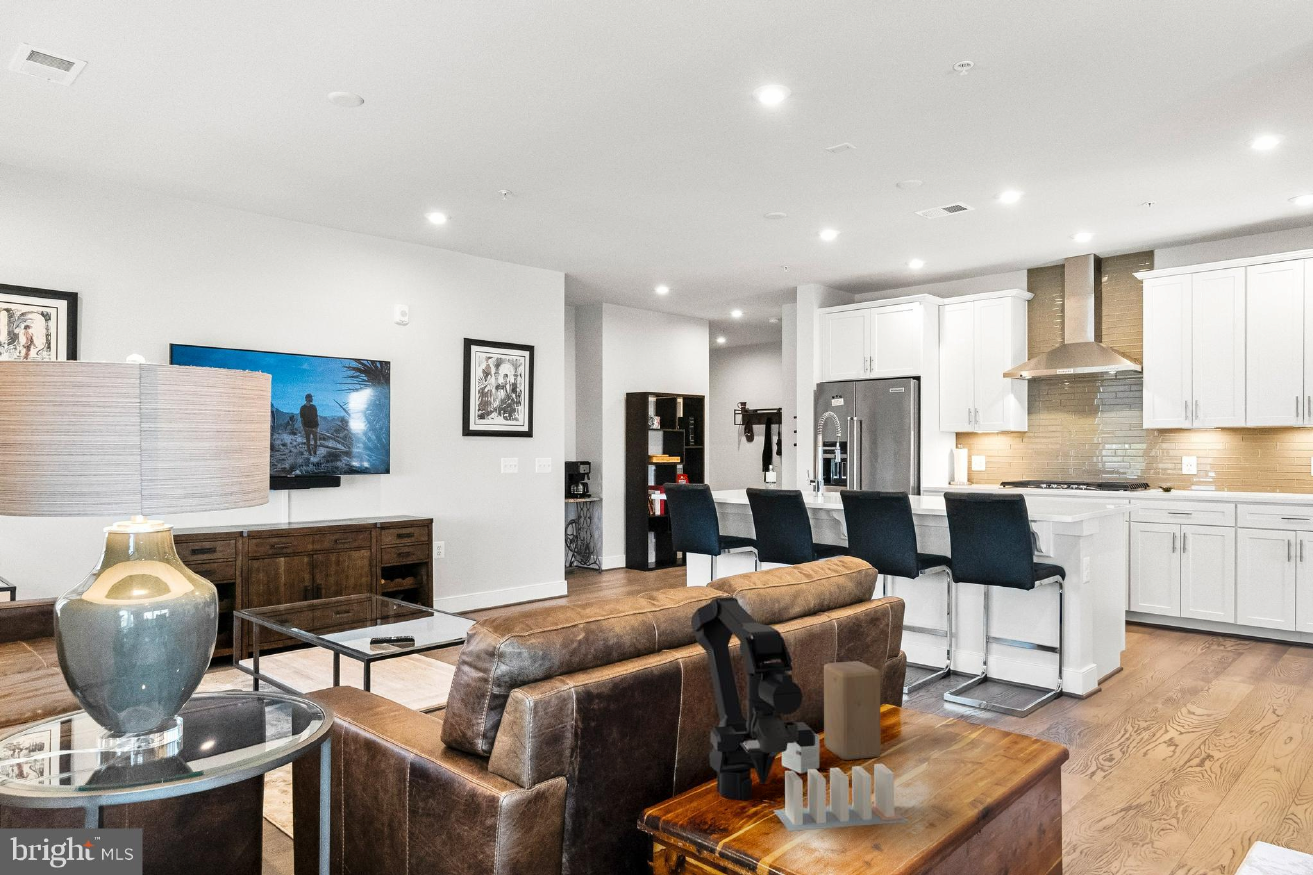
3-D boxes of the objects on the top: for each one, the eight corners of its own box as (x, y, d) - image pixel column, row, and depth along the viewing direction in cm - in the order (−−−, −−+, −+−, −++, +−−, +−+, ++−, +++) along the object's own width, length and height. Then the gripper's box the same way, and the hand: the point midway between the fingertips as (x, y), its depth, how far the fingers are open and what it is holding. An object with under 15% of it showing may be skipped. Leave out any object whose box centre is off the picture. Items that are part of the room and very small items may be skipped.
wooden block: (843, 762, 184) (842, 672, 185) (822, 747, 194) (822, 662, 195) (882, 757, 187) (881, 669, 188) (860, 743, 197) (859, 659, 197)
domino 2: (817, 823, 151) (817, 779, 151) (807, 812, 156) (807, 769, 156) (825, 822, 151) (825, 779, 151) (815, 811, 156) (815, 769, 156)
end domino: (886, 816, 153) (885, 773, 153) (874, 805, 158) (874, 764, 158) (894, 816, 153) (893, 773, 154) (882, 805, 158) (881, 763, 158)
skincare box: (781, 765, 182) (781, 732, 182) (800, 759, 186) (799, 727, 186) (801, 774, 177) (801, 739, 178) (820, 767, 181) (820, 734, 181)
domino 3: (840, 821, 151) (840, 777, 152) (830, 810, 156) (830, 768, 157) (848, 820, 152) (848, 777, 152) (838, 809, 157) (837, 767, 157)
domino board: (789, 836, 148) (789, 829, 148) (773, 815, 156) (773, 809, 156) (907, 826, 152) (907, 820, 152) (885, 806, 160) (885, 800, 161)
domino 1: (794, 825, 150) (794, 781, 150) (785, 813, 155) (785, 771, 155) (802, 824, 150) (802, 780, 150) (793, 813, 155) (793, 770, 155)
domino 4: (863, 819, 152) (863, 776, 152) (852, 808, 157) (852, 766, 157) (871, 819, 153) (871, 775, 153) (860, 808, 157) (859, 766, 158)
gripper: (725, 714, 143) (725, 804, 142) (826, 708, 146) (826, 797, 145) (709, 695, 154) (709, 779, 153) (804, 691, 157) (804, 773, 156)
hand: (762, 782), depth 152 cm, fingers closed
